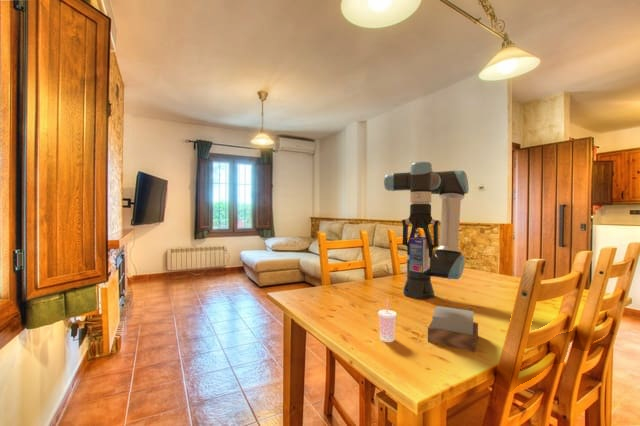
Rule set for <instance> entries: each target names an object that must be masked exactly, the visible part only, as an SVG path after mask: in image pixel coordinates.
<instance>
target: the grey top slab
mask: <svg viewBox="0 0 640 426" xmlns="http://www.w3.org/2000/svg"><path fill="white" fill-rule="evenodd" d="M431 322H432V328H434V329H440V330H445V331H451V332H456V333H462V334H467V335H473V322H474V311H473V310H467V309H460V308H454V307H446V306H442V305H441V306H440V305H436V307H435V309H434V312H433V314H432V320H431Z"/></svg>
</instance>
